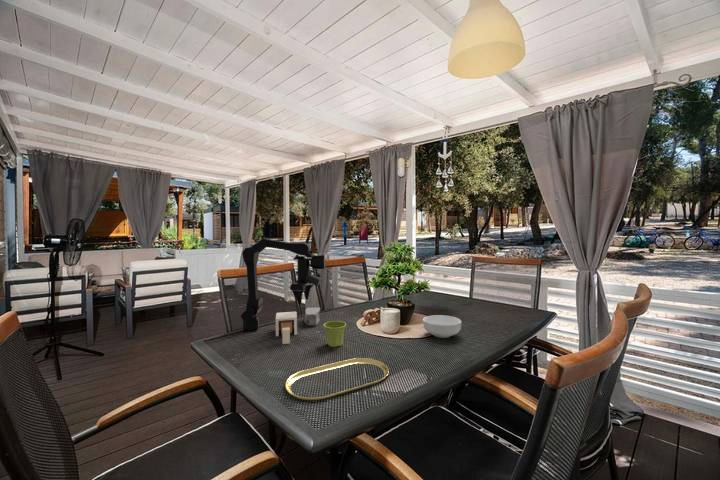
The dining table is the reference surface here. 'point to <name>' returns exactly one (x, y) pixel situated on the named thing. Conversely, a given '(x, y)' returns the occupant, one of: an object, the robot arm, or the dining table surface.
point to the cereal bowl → (442, 325)
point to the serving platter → (332, 366)
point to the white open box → (286, 316)
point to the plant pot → (334, 332)
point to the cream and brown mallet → (286, 330)
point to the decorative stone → (312, 316)
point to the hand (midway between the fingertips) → (303, 301)
